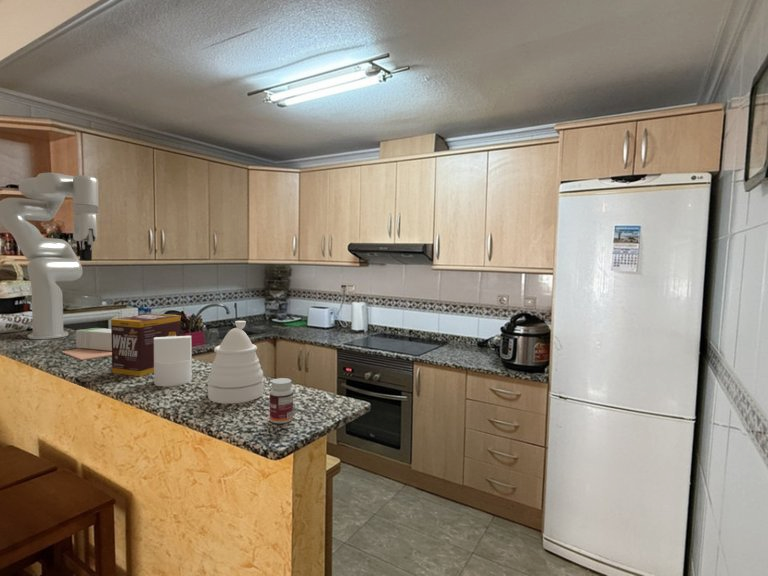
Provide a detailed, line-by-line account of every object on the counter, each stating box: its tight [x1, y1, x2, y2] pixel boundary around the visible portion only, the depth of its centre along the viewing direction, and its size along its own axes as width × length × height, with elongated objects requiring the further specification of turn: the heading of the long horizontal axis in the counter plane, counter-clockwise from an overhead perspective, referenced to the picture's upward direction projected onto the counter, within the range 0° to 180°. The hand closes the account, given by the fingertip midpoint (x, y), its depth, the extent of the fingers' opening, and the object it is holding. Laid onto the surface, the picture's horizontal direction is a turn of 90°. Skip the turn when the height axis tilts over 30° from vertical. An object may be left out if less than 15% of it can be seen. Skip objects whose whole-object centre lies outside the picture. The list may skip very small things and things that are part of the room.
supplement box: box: [110, 312, 182, 377], centre depth 123 cm, size 10×15×16 cm
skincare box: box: [75, 327, 112, 351], centre depth 146 cm, size 8×7×16 cm
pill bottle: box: [269, 377, 294, 424], centre depth 87 cm, size 5×5×8 cm
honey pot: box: [207, 320, 264, 404], centre depth 102 cm, size 13×13×18 cm
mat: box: [60, 348, 112, 361], centre depth 141 cm, size 17×13×1 cm
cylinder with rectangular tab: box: [153, 335, 193, 387], centre depth 111 cm, size 9×9×12 cm
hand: (85, 260), depth 153 cm, fingers closed
